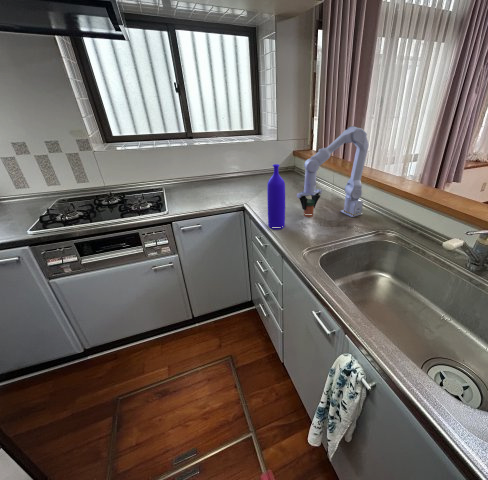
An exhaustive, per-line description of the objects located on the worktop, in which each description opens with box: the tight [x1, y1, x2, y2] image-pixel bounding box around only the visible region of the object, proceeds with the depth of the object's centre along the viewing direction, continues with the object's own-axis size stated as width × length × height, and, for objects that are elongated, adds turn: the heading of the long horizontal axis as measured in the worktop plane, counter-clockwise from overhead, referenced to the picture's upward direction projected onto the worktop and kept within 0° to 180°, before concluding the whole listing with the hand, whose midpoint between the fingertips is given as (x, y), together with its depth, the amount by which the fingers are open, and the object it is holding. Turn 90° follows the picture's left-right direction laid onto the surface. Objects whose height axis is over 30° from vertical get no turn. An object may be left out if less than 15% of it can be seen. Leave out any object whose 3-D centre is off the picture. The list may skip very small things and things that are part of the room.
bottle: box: [266, 163, 286, 231], centre depth 124 cm, size 8×8×30 cm
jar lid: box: [306, 198, 315, 206], centre depth 140 cm, size 6×6×2 cm
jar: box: [303, 205, 315, 218], centre depth 142 cm, size 5×5×8 cm
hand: (308, 208), depth 142 cm, fingers closed on jar lid, 5 cm apart
